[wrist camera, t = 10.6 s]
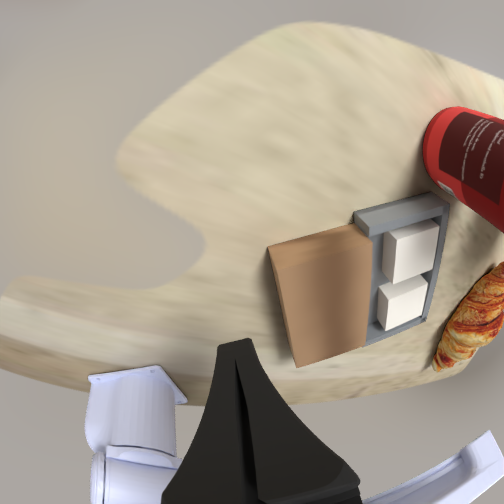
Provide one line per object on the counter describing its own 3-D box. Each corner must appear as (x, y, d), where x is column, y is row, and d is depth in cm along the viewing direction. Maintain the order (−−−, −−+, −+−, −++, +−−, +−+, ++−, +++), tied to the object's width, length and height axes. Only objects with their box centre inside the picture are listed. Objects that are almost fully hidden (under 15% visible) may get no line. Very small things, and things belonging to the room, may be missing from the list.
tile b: (432, 269, 23) (420, 256, 24) (439, 226, 20) (425, 214, 22) (392, 284, 23) (381, 270, 24) (396, 239, 20) (383, 227, 22)
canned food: (476, 178, 21) (559, 235, 12) (420, 197, 22) (512, 272, 12) (476, 102, 17) (576, 141, 8) (415, 108, 17) (537, 153, 8)
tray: (353, 330, 29) (362, 347, 27) (353, 211, 21) (369, 227, 19) (414, 306, 29) (425, 320, 27) (431, 191, 21) (449, 203, 19)
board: (288, 344, 28) (296, 368, 26) (267, 246, 22) (276, 270, 19) (353, 324, 28) (365, 345, 26) (354, 222, 22) (372, 242, 19)
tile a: (421, 314, 26) (412, 302, 28) (427, 283, 24) (416, 270, 25) (385, 331, 26) (376, 317, 28) (388, 300, 24) (378, 286, 25)
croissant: (432, 344, 42) (462, 369, 37) (408, 374, 37) (443, 404, 32) (492, 241, 31) (531, 269, 26) (484, 259, 25) (532, 295, 20)
